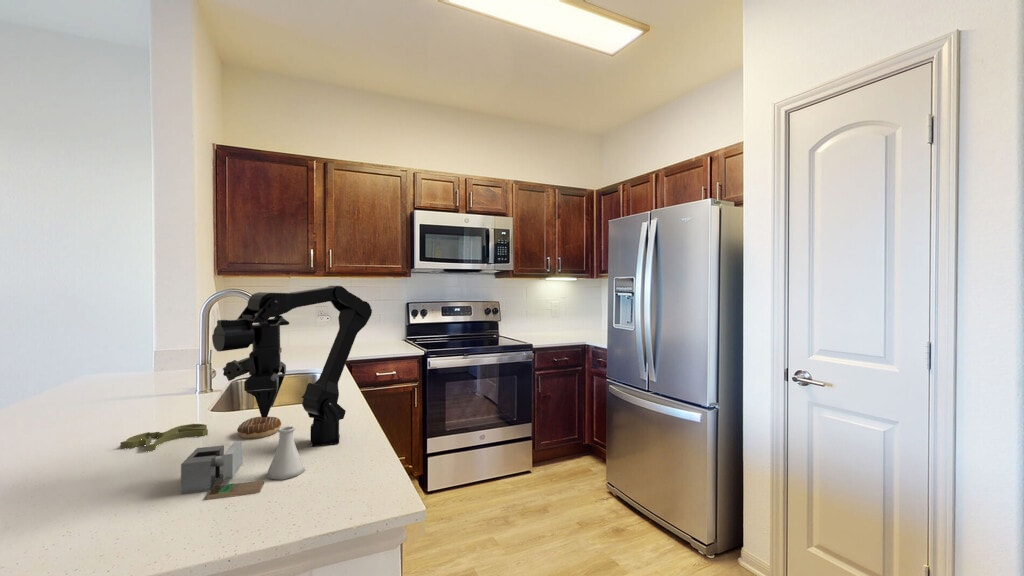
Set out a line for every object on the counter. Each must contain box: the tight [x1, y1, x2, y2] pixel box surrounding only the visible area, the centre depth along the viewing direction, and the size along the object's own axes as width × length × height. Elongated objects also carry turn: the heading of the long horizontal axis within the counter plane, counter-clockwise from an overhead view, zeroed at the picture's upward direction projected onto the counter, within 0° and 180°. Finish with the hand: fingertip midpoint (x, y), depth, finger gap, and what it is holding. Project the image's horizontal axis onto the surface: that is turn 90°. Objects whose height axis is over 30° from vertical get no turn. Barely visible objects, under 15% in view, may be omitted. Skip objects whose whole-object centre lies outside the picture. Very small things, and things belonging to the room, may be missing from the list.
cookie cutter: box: [119, 423, 209, 453], centre depth 115 cm, size 18×12×2 cm, turn 154°
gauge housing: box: [180, 445, 265, 500], centre depth 90 cm, size 14×13×6 cm
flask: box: [266, 425, 306, 481], centre depth 95 cm, size 7×7×10 cm
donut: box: [237, 416, 282, 439], centre depth 121 cm, size 11×11×4 cm
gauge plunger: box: [215, 440, 244, 488], centre depth 90 cm, size 5×12×5 cm, turn 20°
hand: (267, 411), depth 102 cm, fingers open, 9 cm apart
